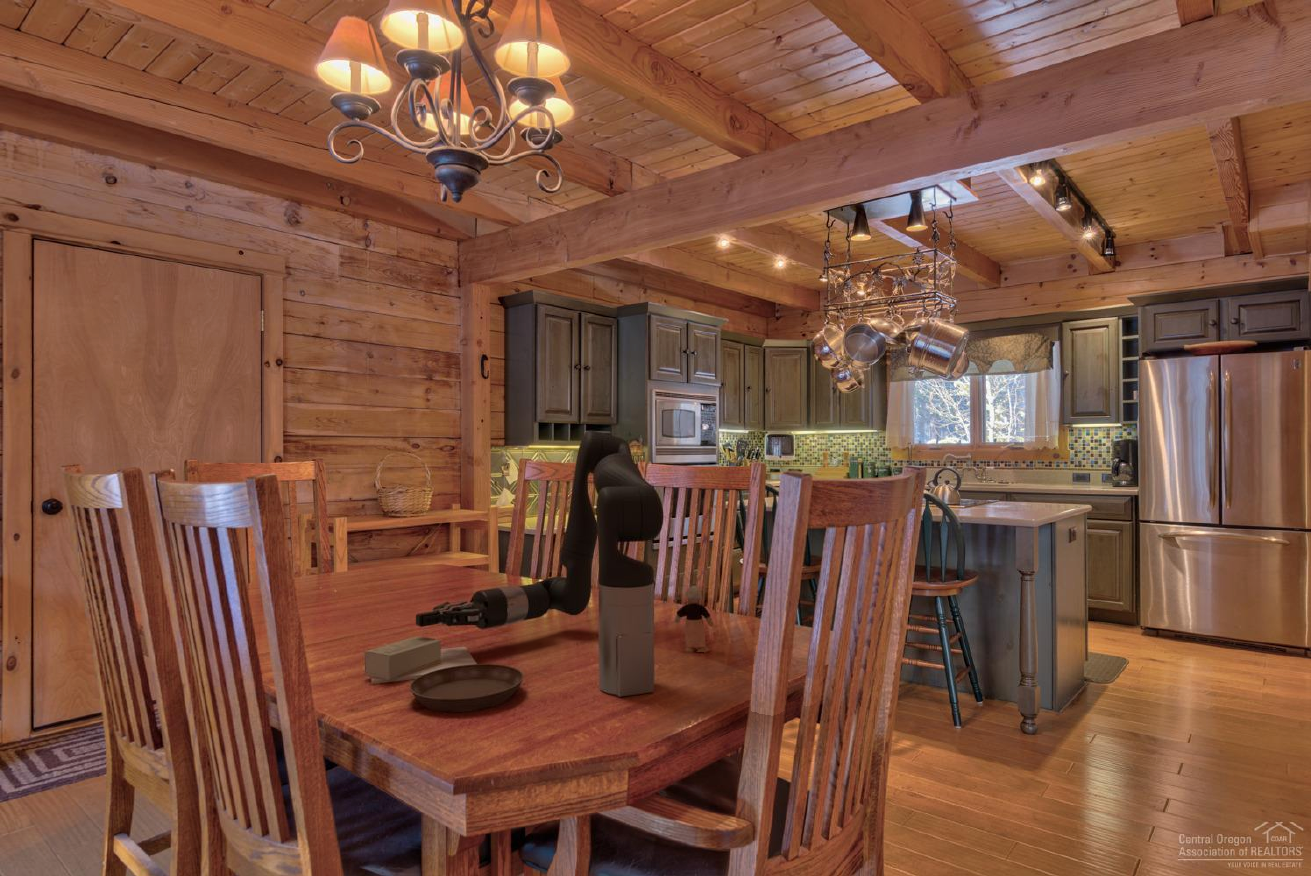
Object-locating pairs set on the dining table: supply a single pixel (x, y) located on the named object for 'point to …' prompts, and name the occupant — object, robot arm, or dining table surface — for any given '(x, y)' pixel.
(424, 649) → the skincare box
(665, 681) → the dining table surface
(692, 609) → the grandmother figurine
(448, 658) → the mat
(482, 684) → the plant saucer
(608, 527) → the robot arm
